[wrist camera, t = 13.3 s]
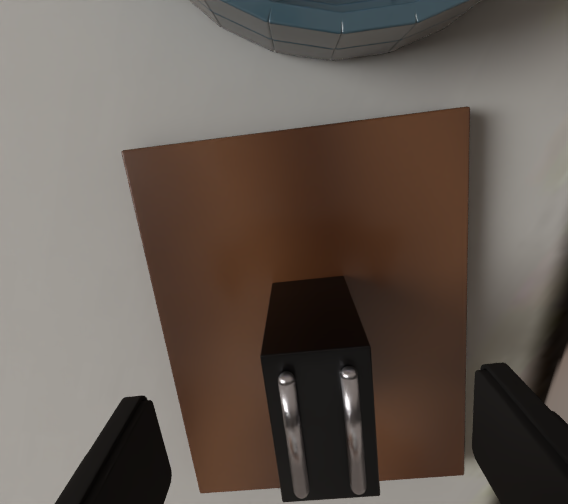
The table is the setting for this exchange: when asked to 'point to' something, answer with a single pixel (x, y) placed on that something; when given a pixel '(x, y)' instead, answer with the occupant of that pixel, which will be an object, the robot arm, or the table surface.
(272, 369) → the clip
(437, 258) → the serving board
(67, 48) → the table surface
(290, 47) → the bowl
